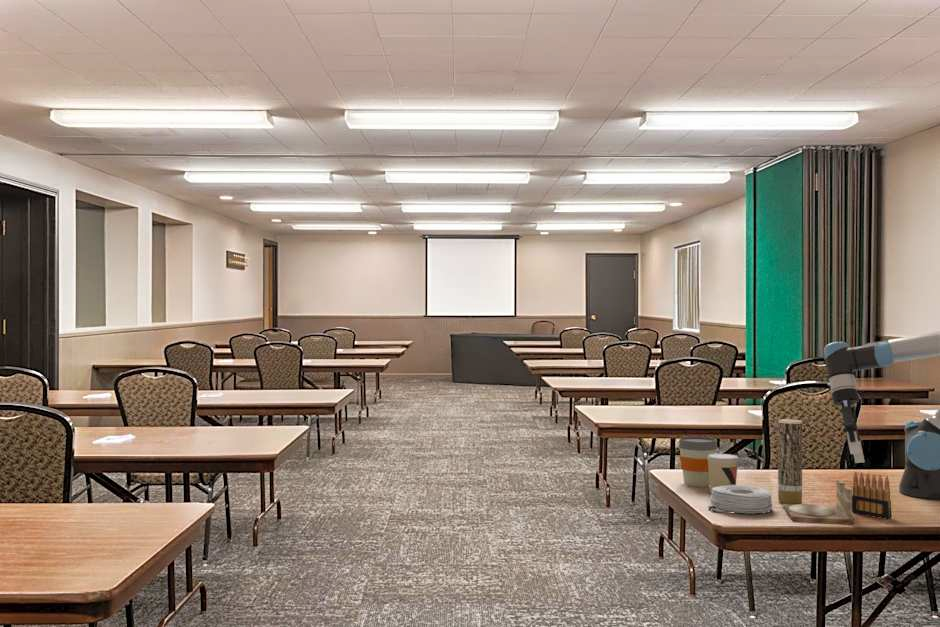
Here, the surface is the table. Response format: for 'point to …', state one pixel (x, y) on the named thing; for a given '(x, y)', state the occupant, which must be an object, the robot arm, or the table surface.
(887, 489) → the ammunition clip
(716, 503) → the cable
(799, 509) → the base
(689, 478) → the reusable coffee cup
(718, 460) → the coffee cup
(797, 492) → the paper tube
